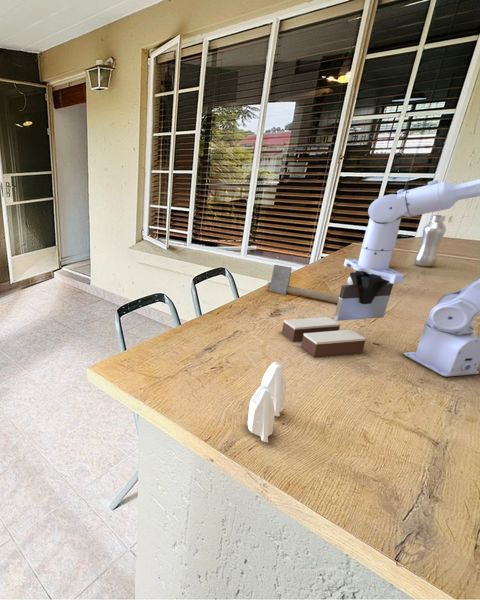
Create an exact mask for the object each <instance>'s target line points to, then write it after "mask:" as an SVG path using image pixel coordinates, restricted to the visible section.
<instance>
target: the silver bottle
mask: <svg viewBox="0 0 480 600" xmlns="http://www.w3.org/2000/svg"><path fill="white" fill-rule="evenodd" d="M445 220H446V215H441V214H433V215H432V216H431V219H430V222H428V223H427V224H426V225H425V226H424V227H423V230H422V238H421V242H420V246H419V249H418V251H417V253H416V255H415V257H414V260H413V261H414V264H415V265H417V266H421V267H433V266H434V265H435V264H436V263H437V260H438V253H439V248H440V245H441V242H442V239H443V237H444V236H445V233H446V232H447V226H446V225H445V223H444V222H445Z"/></svg>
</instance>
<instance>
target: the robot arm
mask: <svg viewBox="0 0 480 600" xmlns="http://www.w3.org/2000/svg"><path fill="white" fill-rule="evenodd" d="M396 193H397V194H396ZM396 193H390V194H386V195H383V196H380V197H378V198H376V199H375V200H373V201H372V202H371V203H370V205H369V207H368V209H367V212H368V213H367V214H368V217H369V219H368V223H367V227H366V228H365V233H364V236H363V240H362V245H361V248H360V253H359V257H358V259H356V258H345V259H344V263H343V267H345V268H351V269H353V270H354V271H355V272H354V271H352V272H349V277H351V279H352V282H353V285H358V284H362V286H363V289H362V296H361V304H371V302H372V301H373V299H374V298H375V296H376V295H377V294H378V292H379V291H380V290H381V289H382V288H383V287H384V286H385V285H386V284H387V283H389V282H390V283H392V284H393V285H396V284H397V285H398V284H403V281H404V277H405V274H403V273H400V272H397V271H396V270H394V269H392V268H391V267H389V266H390V263H391V259H392V256H393V252H394V248H395V245H396V242H397V239H398V235H399V231H400V224H401V220H402V217H407V218H410V217H416V216H421V215H426V214H430V213H435V212H436V213H437V212H440V211H445V210H449V209H451V208H452V207H453V206H455V205H456V204H457V202H458V201H461V200H467V199H472V198H477V197H480V178H477V179H474V180H470V181H465V182H462V183H459V184H458V183H457V184H456V183H452V182H450V181H449V180H443V181H439V180H438V179H435V180H430V181H427V185H423V186H418V187H414V188H411V189H405V188H402V189H399V190H397V191H396ZM479 315H480V277H479V278H477V279H475V280H474V281H472V282H471V283H469V284H467V285H465V286H463V287H462V288H460V289H459V290H457V291H453V292H449V293H446V294H443V295H442V296H441V297H439V299H438V300H437V302H436V305H435V306H433V308H432V309H431V310H430V312H429V315H428V318H427V319H426V320H425V324H424V326H423V329H422V333H421V335H420V338H419V341H418V344H417V348H416V350H415V351H409V352H408V351H407V352H404V353H403V356H405V357H407V358H409V359H410V360H413V361H415V362H416V363H418V364H420V365H421V366H424V367H426V368H427V369H429V370H430V371H432V372H435V373H436V374H438V375H440V376H441V377H446V378H447V377H457V376H469V375H470V376H471V375H479V374H480V371H479V366H480V338H479V337H478V336H477V335H476V334H475V333H474V330H475V327H473V323H474V321H475V319H476V317H477V316H479Z"/></svg>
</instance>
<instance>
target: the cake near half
mask: <svg viewBox="0 0 480 600" xmlns="http://www.w3.org/2000/svg"><path fill="white" fill-rule="evenodd" d="M303 335H304V336H303V340H302V341H301V346H300V348H301V349H302V350H304V351H305V352H306V353H308V354H309V355H311V356H312V357H313V358H319V357H320V358H321V357H331V356H342V355H353V354H354V355H355V354H356V355H357V354H363V351H364V347H365V344H366V340H367V338H366V337H364V336H363V335H361V334H360V333H357V332H356V331H354V330H352V329H341V330H340V329H339V331H326V332H314V333H304V334H303Z"/></svg>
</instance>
